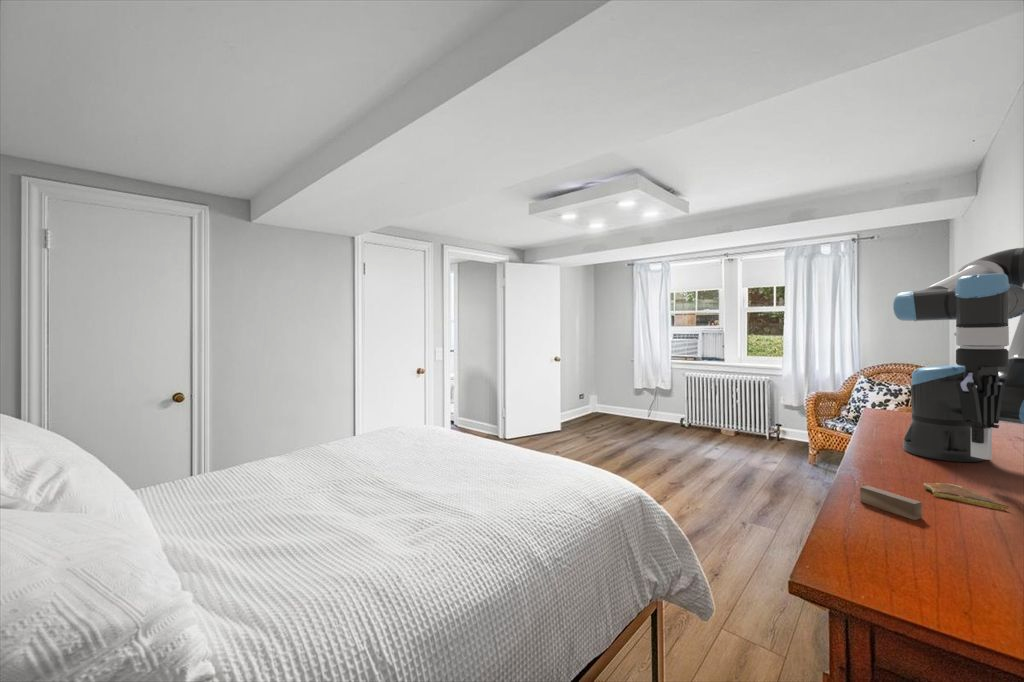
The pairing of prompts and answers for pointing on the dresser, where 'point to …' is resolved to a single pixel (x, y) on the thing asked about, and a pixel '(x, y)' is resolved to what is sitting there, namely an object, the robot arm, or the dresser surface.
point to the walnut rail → (891, 502)
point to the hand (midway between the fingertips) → (981, 457)
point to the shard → (962, 495)
